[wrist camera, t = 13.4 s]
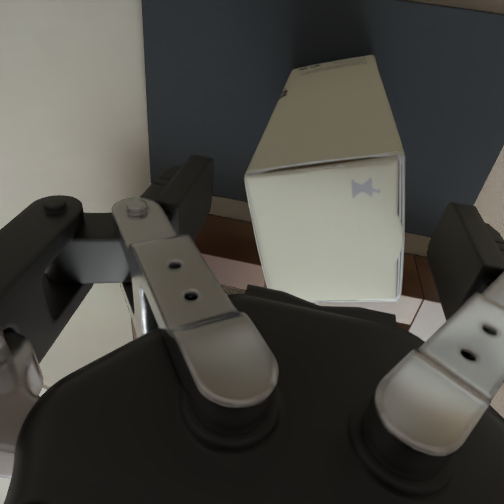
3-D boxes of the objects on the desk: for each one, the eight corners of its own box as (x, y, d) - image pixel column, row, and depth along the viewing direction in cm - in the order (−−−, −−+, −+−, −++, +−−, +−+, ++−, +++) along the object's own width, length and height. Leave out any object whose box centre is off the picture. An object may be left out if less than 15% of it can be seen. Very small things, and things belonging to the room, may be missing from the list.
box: (289, 67, 21) (233, 160, 11) (377, 52, 20) (409, 142, 9) (301, 161, 24) (266, 308, 13) (378, 153, 23) (404, 308, 12)
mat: (153, 180, 27) (150, 183, 27) (143, -36, 20) (139, -36, 20) (453, 237, 25) (455, 242, 25) (560, 21, 18) (565, 23, 18)
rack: (156, 315, 35) (134, 355, 31) (150, 202, 28) (121, 236, 25) (392, 368, 33) (398, 417, 29) (447, 261, 26) (463, 307, 23)
